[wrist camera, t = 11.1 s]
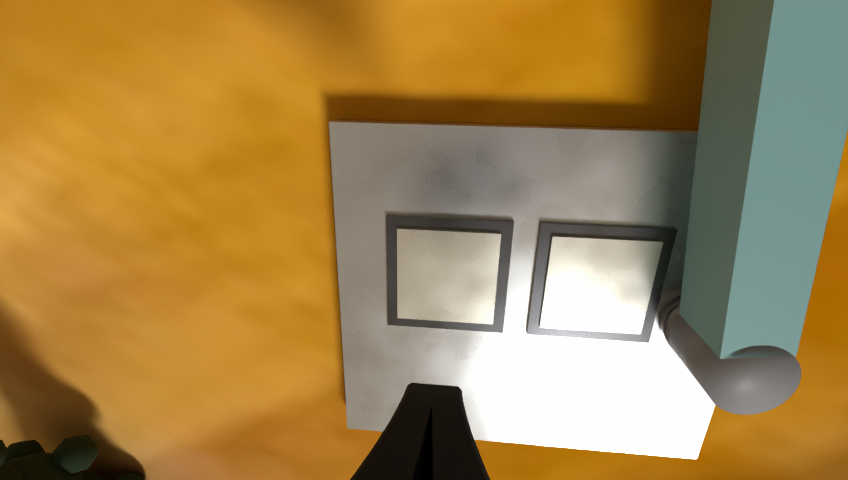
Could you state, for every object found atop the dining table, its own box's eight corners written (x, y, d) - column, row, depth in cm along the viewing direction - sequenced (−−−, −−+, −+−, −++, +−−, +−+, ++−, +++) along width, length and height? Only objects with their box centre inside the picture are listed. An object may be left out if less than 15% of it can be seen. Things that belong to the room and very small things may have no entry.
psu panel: (787, 132, 16) (824, 138, 15) (686, 443, 22) (704, 473, 20) (335, 119, 18) (322, 123, 16) (352, 414, 24) (343, 440, 22)
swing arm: (741, 361, 18) (792, 413, 15) (666, 364, 18) (702, 415, 15) (832, -165, 12) (947, -242, 9) (716, -144, 12) (791, -210, 9)
